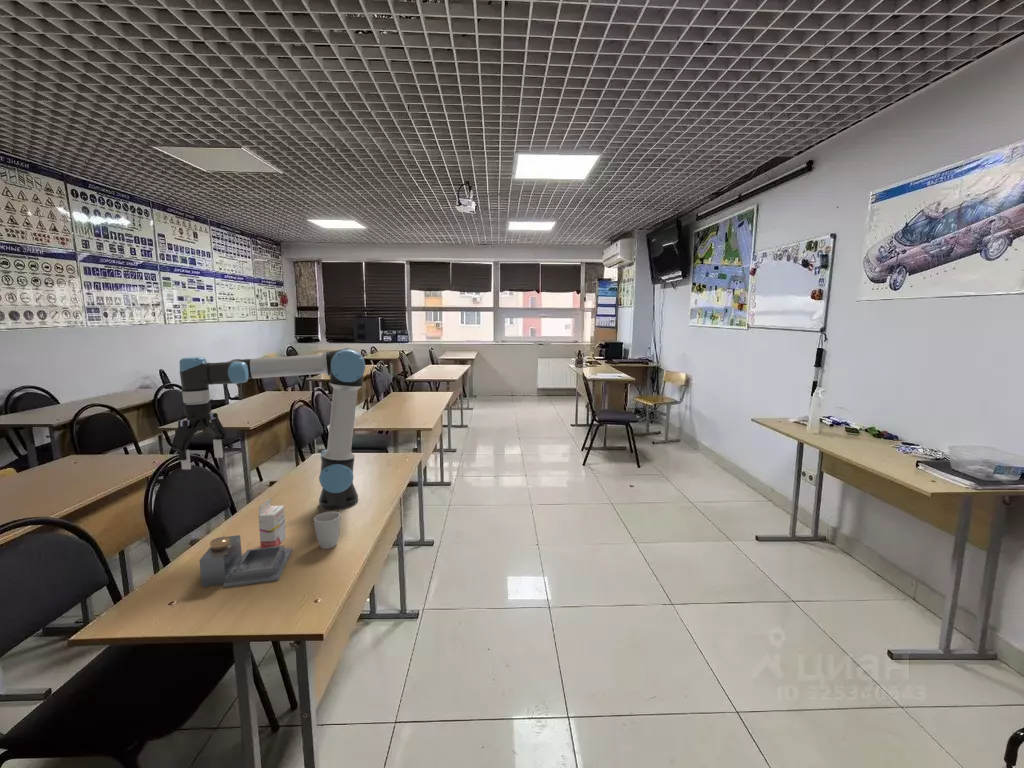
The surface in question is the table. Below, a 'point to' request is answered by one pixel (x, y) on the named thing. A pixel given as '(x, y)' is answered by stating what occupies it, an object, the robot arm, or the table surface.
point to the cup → (327, 529)
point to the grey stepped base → (241, 563)
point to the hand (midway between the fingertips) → (203, 463)
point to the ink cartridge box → (271, 524)
